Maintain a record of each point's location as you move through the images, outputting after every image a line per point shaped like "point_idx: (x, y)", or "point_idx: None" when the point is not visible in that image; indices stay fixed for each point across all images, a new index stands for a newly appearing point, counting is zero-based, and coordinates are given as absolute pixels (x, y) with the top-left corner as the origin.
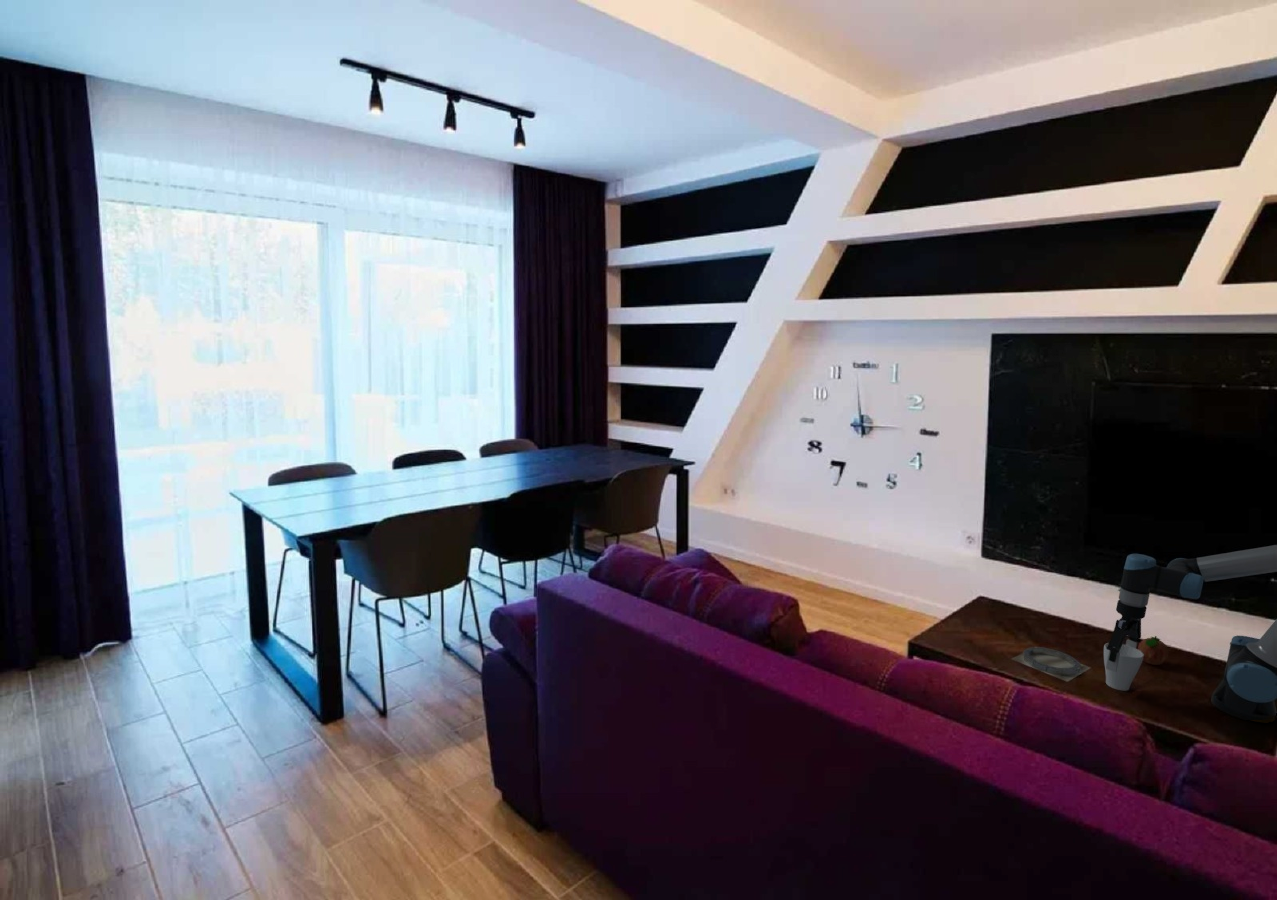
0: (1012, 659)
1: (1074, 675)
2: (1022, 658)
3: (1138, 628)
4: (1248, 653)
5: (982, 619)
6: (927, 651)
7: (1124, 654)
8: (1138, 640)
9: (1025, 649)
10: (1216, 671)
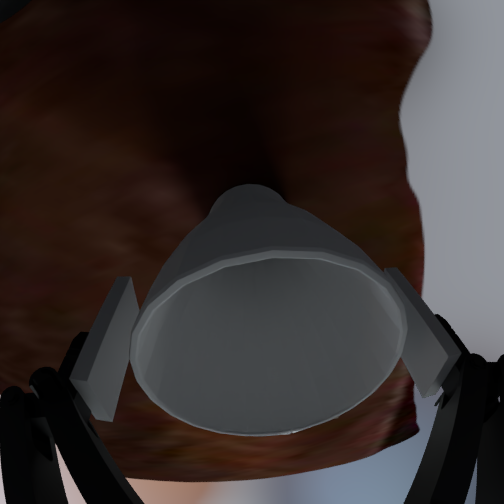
0: (338, 416)
1: None
2: None
3: (41, 502)
4: None
5: (173, 472)
6: (395, 441)
7: (166, 336)
8: (52, 388)
9: (282, 434)
10: None
